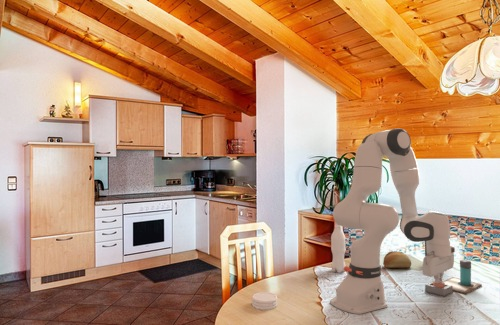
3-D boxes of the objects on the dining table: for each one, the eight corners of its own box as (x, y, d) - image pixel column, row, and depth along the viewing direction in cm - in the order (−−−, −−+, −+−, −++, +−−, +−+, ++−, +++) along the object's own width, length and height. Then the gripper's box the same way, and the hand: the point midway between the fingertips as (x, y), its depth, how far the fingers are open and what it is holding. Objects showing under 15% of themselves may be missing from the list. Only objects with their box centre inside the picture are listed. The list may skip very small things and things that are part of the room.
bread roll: (378, 265, 184) (378, 250, 184) (404, 263, 187) (403, 249, 187) (388, 271, 175) (388, 255, 175) (415, 269, 177) (415, 253, 177)
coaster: (262, 298, 142) (262, 289, 142) (282, 304, 136) (282, 295, 136) (246, 305, 135) (246, 296, 135) (266, 313, 128) (266, 303, 128)
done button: (441, 292, 143) (441, 285, 143) (430, 289, 146) (430, 282, 146) (446, 290, 146) (446, 283, 146) (436, 287, 149) (435, 280, 149)
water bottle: (344, 269, 178) (344, 220, 178) (347, 273, 171) (346, 223, 171) (330, 269, 179) (329, 220, 179) (332, 273, 172) (331, 223, 172)
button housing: (443, 297, 141) (443, 289, 141) (425, 291, 147) (425, 284, 147) (452, 292, 145) (452, 285, 145) (434, 287, 151) (433, 280, 151)
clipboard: (465, 294, 143) (465, 292, 143) (436, 286, 153) (436, 284, 153) (481, 285, 153) (481, 283, 153) (452, 278, 162) (452, 276, 162)
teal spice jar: (468, 286, 149) (468, 263, 149) (458, 283, 153) (458, 261, 153) (472, 284, 152) (472, 261, 152) (462, 281, 155) (462, 259, 155)
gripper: (433, 255, 137) (434, 290, 137) (456, 247, 150) (457, 279, 150) (418, 252, 142) (418, 285, 143) (441, 244, 155) (442, 275, 155)
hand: (438, 282), depth 146 cm, fingers closed, pressing on done button
